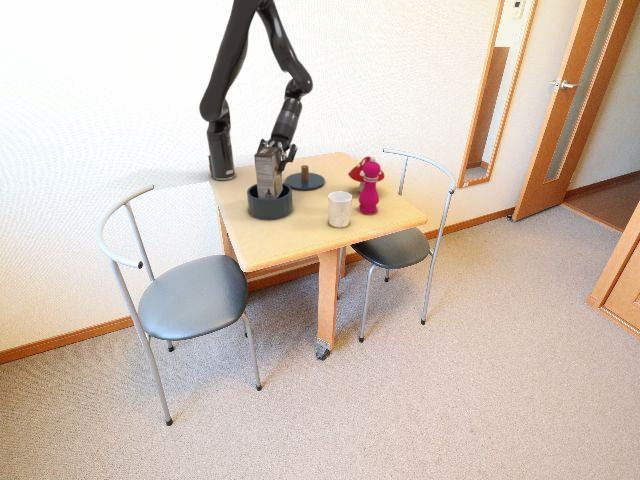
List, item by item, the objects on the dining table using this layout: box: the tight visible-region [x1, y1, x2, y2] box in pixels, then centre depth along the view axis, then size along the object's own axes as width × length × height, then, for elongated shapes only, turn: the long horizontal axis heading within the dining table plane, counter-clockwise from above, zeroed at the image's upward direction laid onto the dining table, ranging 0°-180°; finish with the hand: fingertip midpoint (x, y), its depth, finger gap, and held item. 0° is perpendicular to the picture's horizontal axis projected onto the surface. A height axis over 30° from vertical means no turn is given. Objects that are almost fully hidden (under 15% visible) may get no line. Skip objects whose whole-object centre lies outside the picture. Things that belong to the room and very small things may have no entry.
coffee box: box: [253, 147, 283, 200], centre depth 121 cm, size 9×6×16 cm
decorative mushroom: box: [347, 156, 385, 193], centre depth 138 cm, size 14×14×15 cm
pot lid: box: [284, 164, 326, 190], centre depth 148 cm, size 17×17×7 cm
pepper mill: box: [358, 156, 382, 215], centre depth 124 cm, size 7×7×20 cm
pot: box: [246, 182, 293, 221], centre depth 127 cm, size 16×16×8 cm
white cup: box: [327, 190, 353, 228], centre depth 119 cm, size 8×8×10 cm
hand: (269, 169), depth 122 cm, fingers closed on coffee box, 7 cm apart
